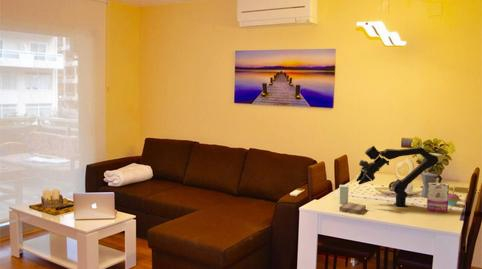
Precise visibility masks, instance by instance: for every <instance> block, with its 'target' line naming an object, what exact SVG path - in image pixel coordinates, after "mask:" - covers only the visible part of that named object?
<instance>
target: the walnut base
mask: <svg viewBox="0 0 482 269" xmlns="http://www.w3.org/2000/svg"><path fill="white" fill-rule="evenodd" d="M366 209H367V205H365V204H359V203H351V202H348V203H345V204H341V205H340V206H339V212H341V211H342V212H341V213H343V212H344V213H347V212H349V213H348V214H354V215H361V214H362V213H363V212H365V211H366Z"/></svg>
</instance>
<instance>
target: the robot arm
mask: <svg viewBox="0 0 482 269" xmlns="http://www.w3.org/2000/svg"><path fill="white" fill-rule="evenodd" d="M428 152H429V151H427V150H426V149H424V148H423V147H421V146H418V147H410V148H402V149H394V148H386V149H384V150H380V151H379V150H378V149H377V148H376V147H375V145H372V146H370V147H369V148H367V150H365V151H364V154H365V155H366V156H367V157H368V158H369V160H371V161H370V162H368V161H367V160H363V159H360V161H359V163H358V165H359V166H360V167H361V168H360V174H359V175H358V176H357V178H356V180H355V181H356V182H358V185H363V184H365V183H369V182H373V181H374V180H375V179H376V175H375V174H376V173H377V172H379V171H380V170H381V168H383V167H384V166H385V165H387V167H388V166H389V165H390V161H391V160H393V159H396V158H399V157H406V156H415V155H416V156H417V154H420V155H422V156H423V157H424V159H423V161H422V162H421V163H420V164H418V165H417V166H416V167H415V168H414V169H413V170H412V171H411V172H409V173H408V174H407V175H406V176H405V177H404V178H402V179H399V178H397V179H396V181H394V182H393V184H392V185H391V189H392V191H393V192H394V193H395V202H394V203H393V205H394V206H395V207H398V208H399V207H401V208H402V207H404V208H408V205H407V202H406V201H407V200H406V199H407V197H408V193H407V192H406V189H407V188H408V186H409V185H410V184H411V183H412V182H413V181H414V180H415V179H416V178H418V177H419V176H421V173H424V172H425V171H426V170H427V169H429V168H430V167H431V168H432V167H434V166H435V165H437V164H439V163H438V157H437V156H435V155H433V154H430V153H428ZM372 160H374V161H372ZM431 168H430V169H431Z"/></svg>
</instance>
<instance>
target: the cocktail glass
mask: <svg viewBox="0 0 482 269" xmlns="http://www.w3.org/2000/svg"><path fill="white" fill-rule="evenodd" d="M427 152H428V153H430V154H433V155H435V156H437V157H438V163H437V164H439V163H441V162H443V161H444V159H445V154H444V153H441V152H435V151H427ZM416 158H417V160H418V161H420V162H421V163H422V161H423V159H424V157H423V156H422V155H420V154H416ZM431 168H432V167H430V168H428V170H431ZM420 188H421V189H423V185H421V186H420Z"/></svg>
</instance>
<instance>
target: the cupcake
mask: <svg viewBox="0 0 482 269" xmlns="http://www.w3.org/2000/svg"><path fill="white" fill-rule="evenodd" d="M455 189H456V188H455V186H453V188H452V192H451V193H449V192H448V206H450V205H451V207H454V206H456V205H457V203H458V202H459V200H460V196H459V195H458V194H456V193H455Z"/></svg>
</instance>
